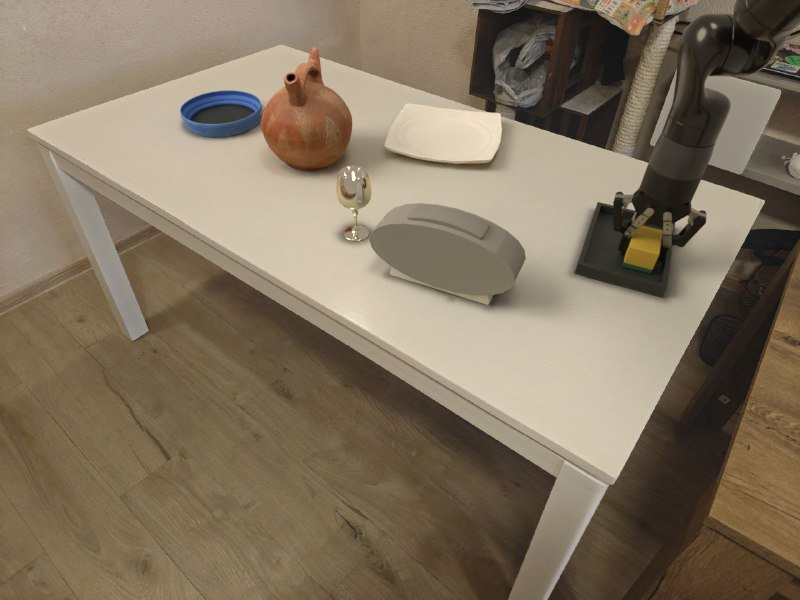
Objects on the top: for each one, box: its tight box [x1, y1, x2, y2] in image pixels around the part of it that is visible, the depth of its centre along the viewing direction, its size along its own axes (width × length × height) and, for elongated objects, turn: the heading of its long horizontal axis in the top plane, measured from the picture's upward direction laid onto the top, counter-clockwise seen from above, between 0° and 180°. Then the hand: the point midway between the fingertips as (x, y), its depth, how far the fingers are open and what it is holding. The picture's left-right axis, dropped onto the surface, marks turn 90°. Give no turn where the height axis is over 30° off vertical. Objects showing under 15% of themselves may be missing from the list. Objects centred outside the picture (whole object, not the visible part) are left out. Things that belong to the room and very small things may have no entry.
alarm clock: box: [368, 202, 526, 306], centre depth 83 cm, size 23×6×13 cm, turn 65°
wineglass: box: [336, 165, 373, 242], centre depth 92 cm, size 6×6×12 cm
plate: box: [383, 102, 503, 165], centre depth 120 cm, size 24×24×3 cm
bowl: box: [179, 89, 263, 138], centre depth 126 cm, size 18×18×4 cm
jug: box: [260, 46, 353, 172], centre depth 108 cm, size 18×18×20 cm
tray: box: [574, 201, 676, 298], centre depth 93 cm, size 20×14×2 cm
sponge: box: [622, 226, 663, 274], centre depth 89 cm, size 7×4×4 cm, turn 156°
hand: (639, 256), depth 90 cm, fingers closed on sponge, 4 cm apart
